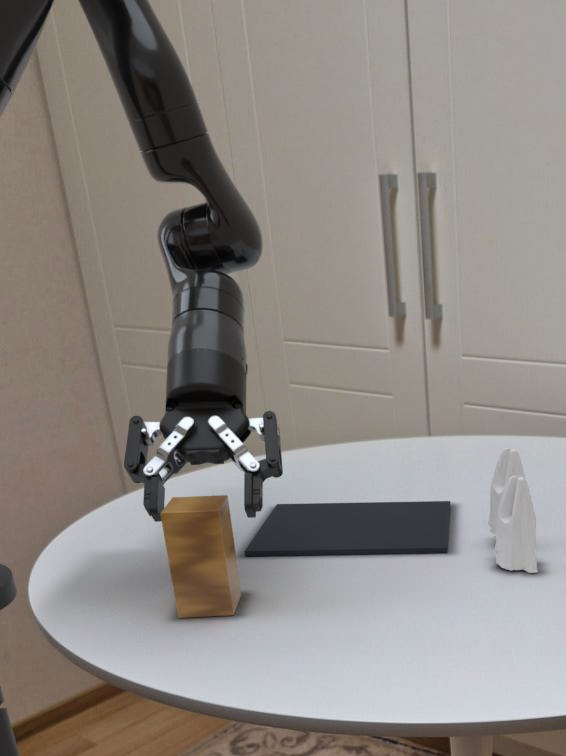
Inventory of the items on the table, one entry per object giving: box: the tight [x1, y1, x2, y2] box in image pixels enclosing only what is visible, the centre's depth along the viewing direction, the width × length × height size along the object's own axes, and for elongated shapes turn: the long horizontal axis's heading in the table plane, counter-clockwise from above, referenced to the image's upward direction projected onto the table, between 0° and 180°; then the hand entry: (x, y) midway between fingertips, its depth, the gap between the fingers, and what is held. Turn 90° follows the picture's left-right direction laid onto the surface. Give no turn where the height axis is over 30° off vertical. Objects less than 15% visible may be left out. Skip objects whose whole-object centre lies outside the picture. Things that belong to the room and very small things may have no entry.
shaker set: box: [487, 447, 539, 574], centre depth 93 cm, size 12×4×11 cm, turn 5°
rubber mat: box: [243, 500, 451, 557], centre depth 104 cm, size 22×18×1 cm
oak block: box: [160, 494, 242, 619], centre depth 82 cm, size 5×5×10 cm
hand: (203, 515), depth 82 cm, fingers open, 8 cm apart
